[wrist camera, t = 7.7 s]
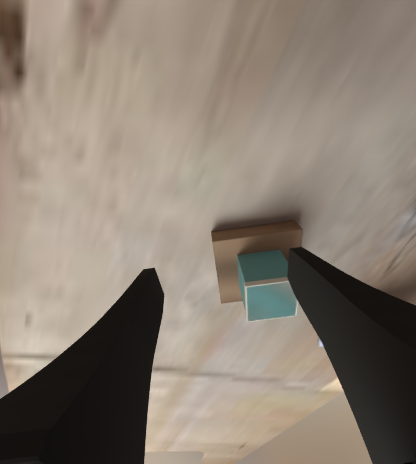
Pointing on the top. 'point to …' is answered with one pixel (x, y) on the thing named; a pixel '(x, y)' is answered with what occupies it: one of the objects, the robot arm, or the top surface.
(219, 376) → the top surface
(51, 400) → the robot arm
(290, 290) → the teal tin
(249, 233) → the walnut block
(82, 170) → the top surface
